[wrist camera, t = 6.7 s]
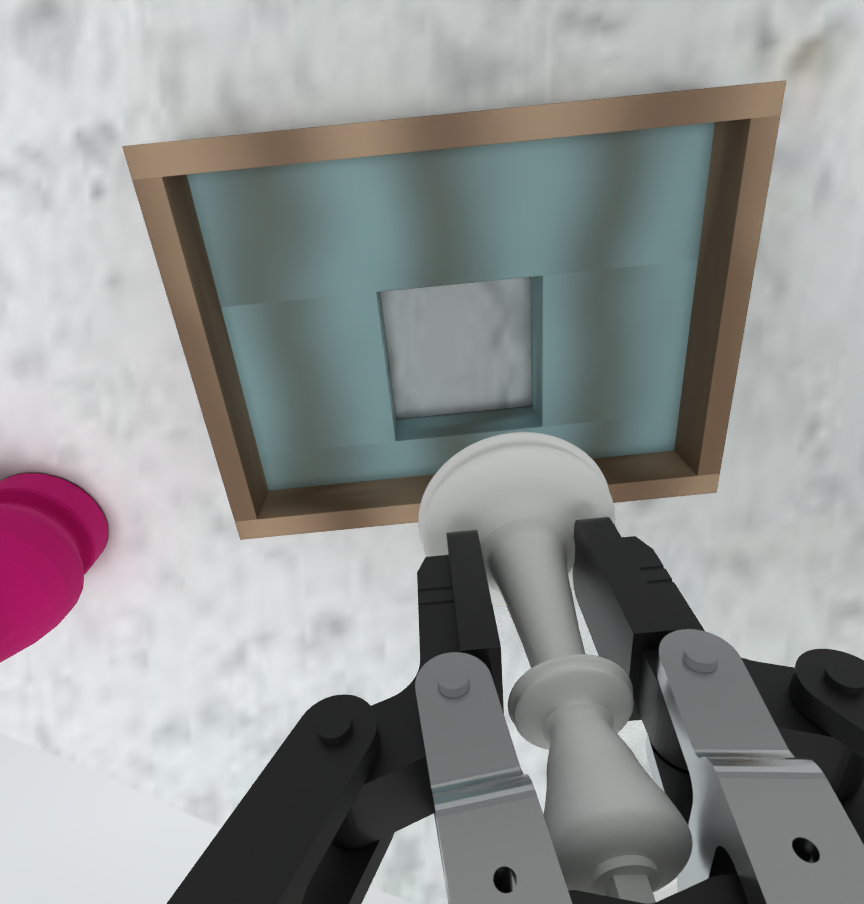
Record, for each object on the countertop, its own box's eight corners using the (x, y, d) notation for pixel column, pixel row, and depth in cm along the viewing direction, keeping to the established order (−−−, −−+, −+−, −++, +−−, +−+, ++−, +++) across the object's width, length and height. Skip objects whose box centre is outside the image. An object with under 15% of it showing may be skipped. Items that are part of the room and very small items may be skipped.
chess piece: (424, 426, 13) (465, 962, 4) (629, 435, 14) (1043, 950, 5) (413, 589, 16) (426, 1160, 7) (589, 593, 16) (822, 1141, 7)
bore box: (713, 94, 23) (786, 80, 19) (671, 443, 31) (716, 492, 26) (175, 148, 23) (122, 146, 19) (263, 484, 31) (240, 539, 26)
